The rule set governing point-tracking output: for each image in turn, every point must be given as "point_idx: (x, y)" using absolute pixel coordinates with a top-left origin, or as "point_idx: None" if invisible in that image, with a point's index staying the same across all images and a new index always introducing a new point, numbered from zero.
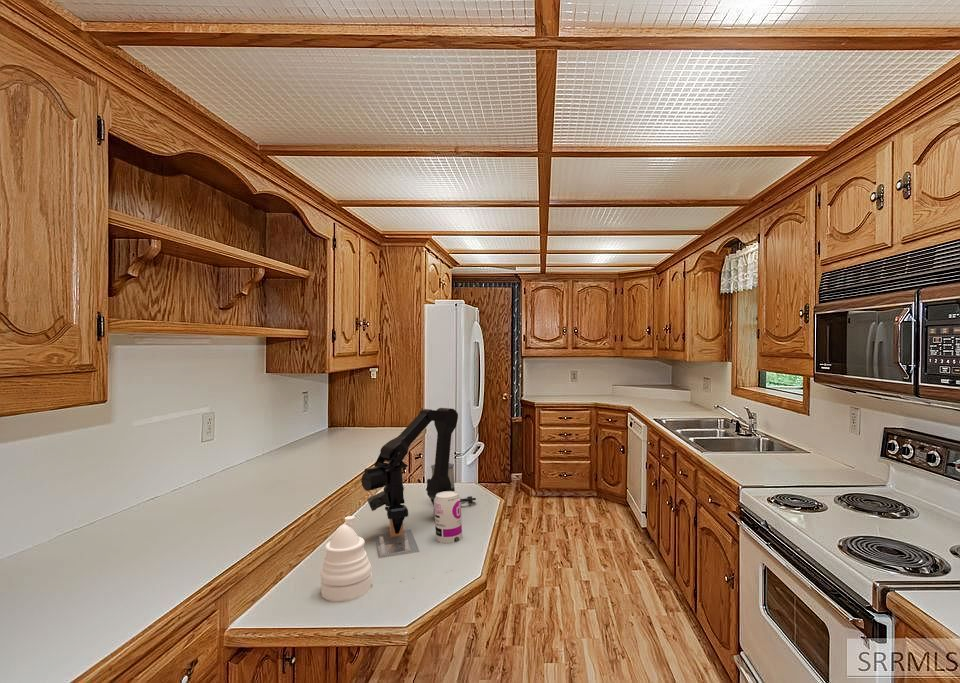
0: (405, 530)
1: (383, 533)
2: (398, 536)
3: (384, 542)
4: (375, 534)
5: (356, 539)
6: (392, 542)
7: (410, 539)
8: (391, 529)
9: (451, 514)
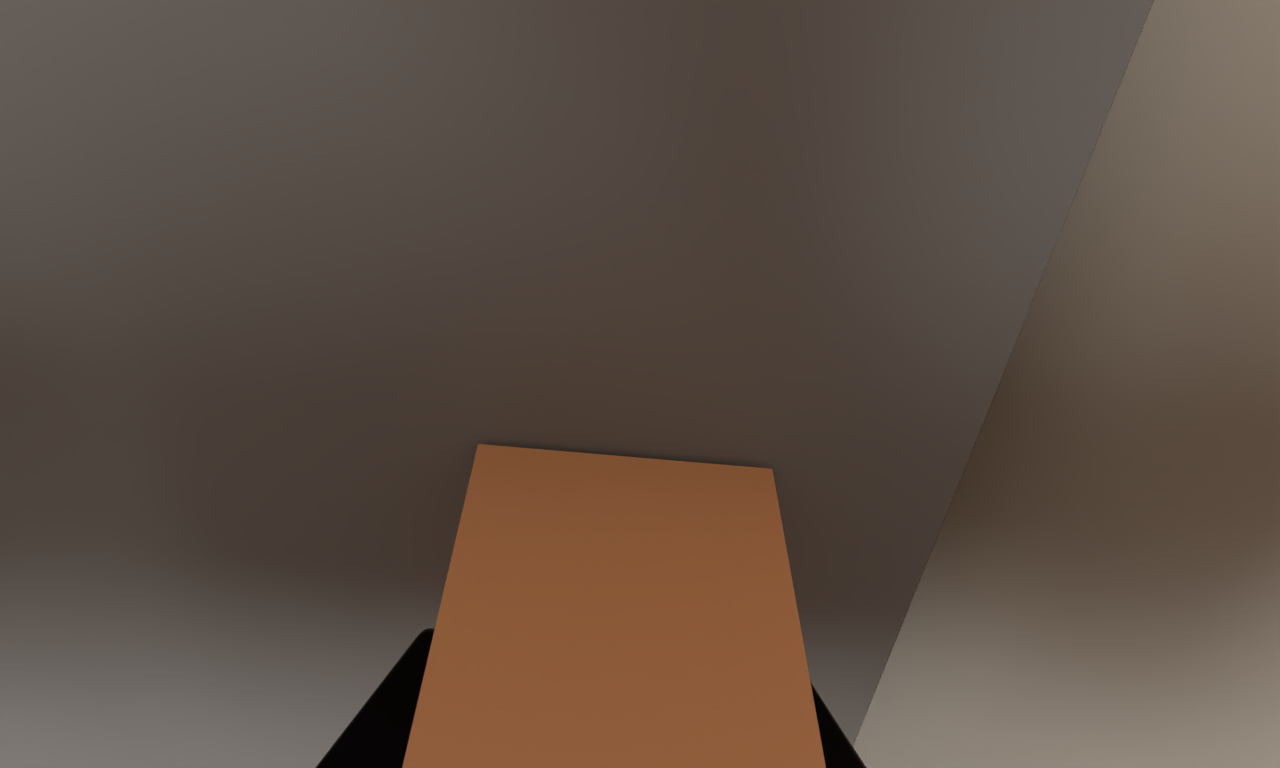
0: None
1: (999, 314)
2: None
3: (85, 190)
4: (1133, 27)
5: None
6: (30, 405)
7: (162, 745)
8: (430, 667)
9: None
